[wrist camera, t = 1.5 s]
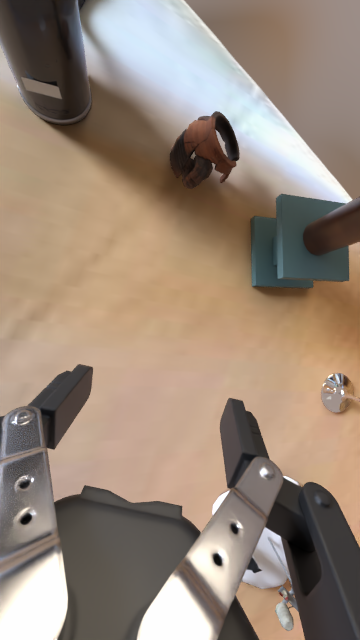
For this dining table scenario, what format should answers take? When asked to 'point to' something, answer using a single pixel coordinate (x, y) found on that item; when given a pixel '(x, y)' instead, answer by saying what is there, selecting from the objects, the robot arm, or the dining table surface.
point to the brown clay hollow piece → (204, 150)
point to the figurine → (270, 568)
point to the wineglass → (337, 392)
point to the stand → (293, 246)
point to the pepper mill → (334, 229)
